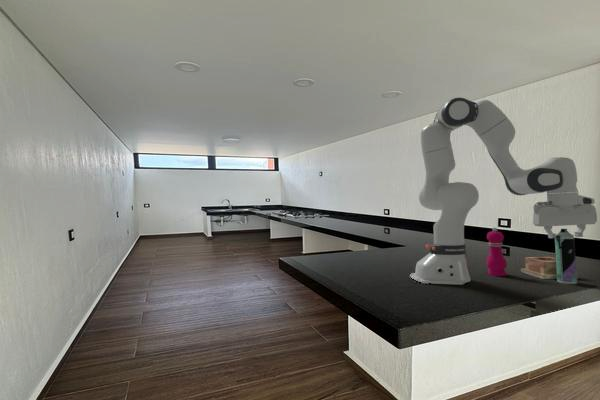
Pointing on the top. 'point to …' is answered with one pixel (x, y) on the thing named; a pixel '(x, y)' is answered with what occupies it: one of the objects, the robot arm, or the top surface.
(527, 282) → the top surface
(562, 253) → the spray can
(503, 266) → the pepper mill
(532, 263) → the can holder
